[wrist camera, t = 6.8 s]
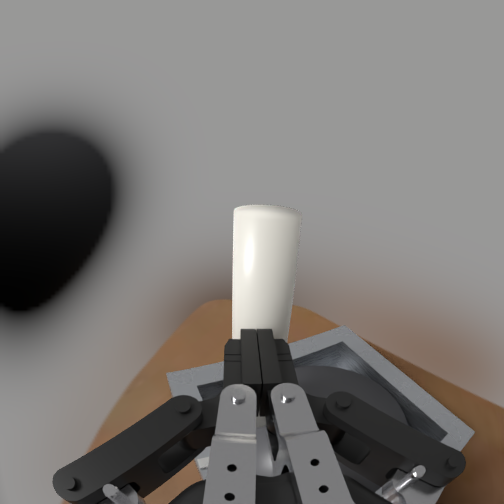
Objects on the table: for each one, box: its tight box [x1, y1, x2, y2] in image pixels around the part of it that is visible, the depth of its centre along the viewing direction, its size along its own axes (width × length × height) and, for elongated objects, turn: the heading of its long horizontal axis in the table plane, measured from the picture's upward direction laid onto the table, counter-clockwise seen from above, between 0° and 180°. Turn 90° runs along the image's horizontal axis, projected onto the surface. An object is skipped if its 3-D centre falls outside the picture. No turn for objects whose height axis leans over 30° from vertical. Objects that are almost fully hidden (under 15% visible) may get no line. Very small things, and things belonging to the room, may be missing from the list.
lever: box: [232, 205, 408, 492], centre depth 14 cm, size 13×13×16 cm
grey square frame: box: [166, 325, 475, 497], centre depth 16 cm, size 18×18×4 cm
